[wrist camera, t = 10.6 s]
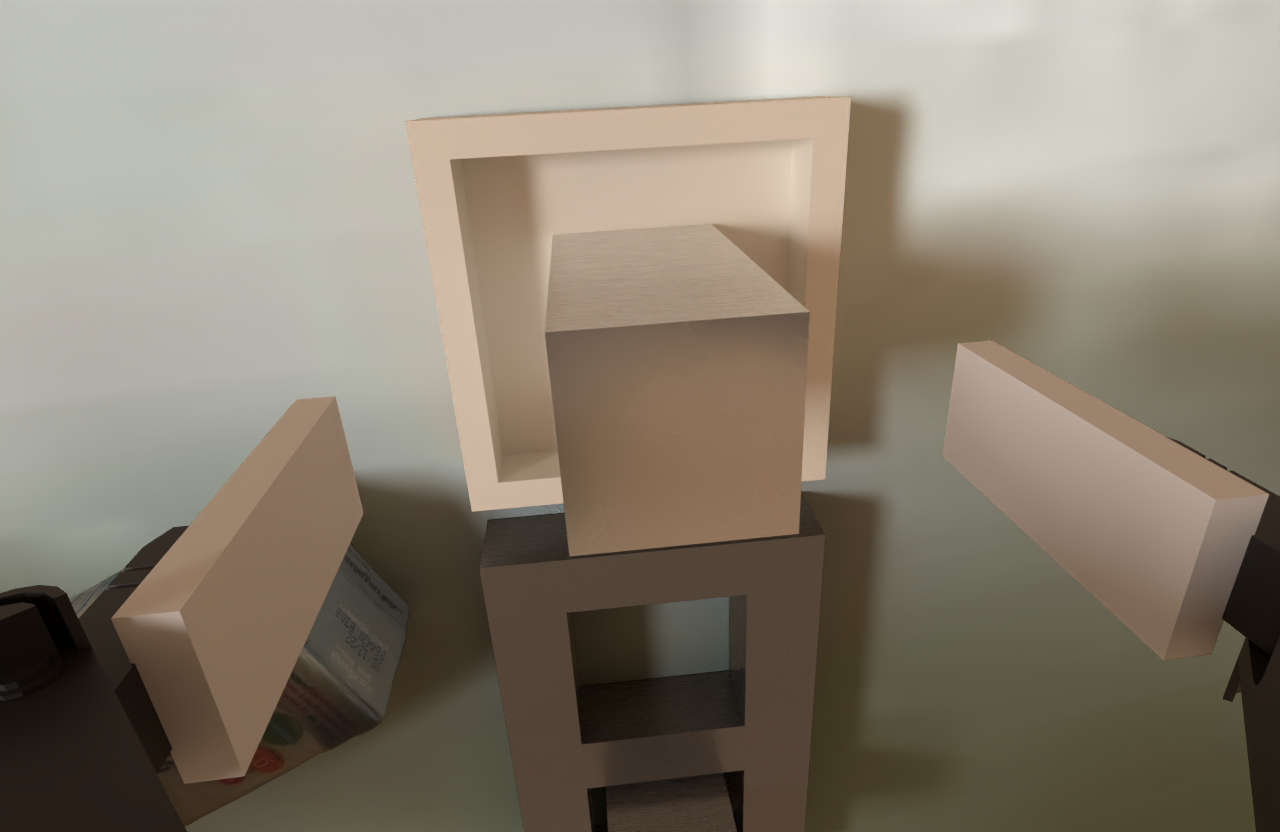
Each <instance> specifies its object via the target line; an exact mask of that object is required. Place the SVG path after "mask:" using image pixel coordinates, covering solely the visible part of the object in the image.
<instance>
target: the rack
mask: <svg viewBox="0 0 1280 832" xmlns="http://www.w3.org/2000/svg"><path fill="white" fill-rule="evenodd" d="M824 549H825V533H824V531H823V530H822V528H821V526H820V525H819V523H818V521H817V520H816V518H815V516H814V514H813V513H812V511H811V509H810V508H809V506H808V504H807V503H806V501H805V499H804V498H803V496H802V494H801V501H800V521H799V534H792V535H782V536H771V537H761V538H751V539H741V540H731V541H721V542H711V543H701V544H690V545H680V546H670V547H660V548H650V549H640V550H630V551H620V552H609V553H599V554H589V555H579V556H569V547H568V538H567V529H566V520H565V513H561V514H550V515H540V516H529V517H518V518H507V519H496V520H488V522H487V527H486V533H485V538H484V544H483V550H482V555H481V561H480V566H479V571H480V576H481V582H482V588H483V594H484V599H485V605H486V611H487V617H488V623H489V628H490V634H491V640H492V646H493V652H494V657H495V663H496V669H497V675H498V681H499V686H500V692H501V698H502V704H503V709H504V715H505V721H506V727H507V733H508V738H509V744H510V750H511V756H512V762H513V767H514V773H515V779H516V785H517V790H518V796H519V802H520V808H521V814H522V819H523V825H524V831H525V832H608V826H601V827H596V826H595V817H594V808H593V799H592V790H591V788H597V787H605V786H614V785H622V784H631V783H639V782H648V781H656V780H664V779H673V778H681V777H690V776H698V775H707V774H715V773H724V772H729V799H730V804H731V808H732V812H733V817H734V821H735V825H736V830H737V832H804V831H805V817H806V803H807V789H808V775H809V761H810V746H811V732H812V718H813V704H814V690H815V676H816V662H817V648H818V633H819V619H820V605H821V591H822V577H823V563H824ZM727 596H730V601H729V671H722V672H712V673H703V674H694V675H685V676H676V677H666V678H657V679H648V680H639V681H630V682H620V683H611V684H602V685H593V686H584V687H580V682H579V672H578V663H577V654H576V645H575V636H574V627H573V618H572V612H580V611H590V610H599V609H609V608H619V607H629V606H639V605H649V604H658V603H668V602H678V601H688V600H698V599H707V598H717V597H727Z"/></svg>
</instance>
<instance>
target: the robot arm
mask: <svg viewBox="0 0 1280 832" xmlns="http://www.w3.org/2000/svg"><path fill="white" fill-rule="evenodd" d="M942 457H943V458H944V459H946V460H947V461H948V462H949V463H950V464H951V465H952V466H953V467H954V468H955V469H956V470H957V471H959V472H960V473H961V474H962V475H963V476H964V477H965V478H966V479H967V480H968V481H969V482H970V483H972V484H973V485H974V486H975V487H976V488H977V489H978V490H979V491H980V492H981V493H982V494H984V495H985V496H986V497H987V498H988V499H989V500H990V501H991V502H992V503H993V504H994V505H995V506H997V507H998V508H999V509H1000V510H1001V511H1002V512H1003V513H1004V514H1005V515H1006V516H1007V517H1008V518H1010V519H1011V520H1012V521H1013V522H1014V523H1015V524H1016V525H1017V526H1018V527H1019V528H1020V529H1021V530H1023V531H1024V532H1025V533H1026V534H1027V535H1028V536H1029V537H1030V538H1031V539H1032V540H1033V541H1034V542H1036V543H1037V544H1038V545H1039V546H1040V547H1041V548H1042V549H1043V550H1044V551H1045V552H1046V553H1048V554H1049V555H1050V556H1051V557H1052V558H1053V559H1054V560H1055V561H1056V562H1057V563H1058V564H1059V565H1061V566H1062V567H1063V568H1064V569H1065V570H1066V571H1067V572H1068V573H1069V574H1070V575H1071V576H1072V577H1074V578H1075V579H1076V580H1077V581H1078V582H1079V583H1080V584H1081V585H1082V586H1083V587H1084V588H1085V589H1087V590H1088V591H1089V592H1090V593H1091V594H1092V595H1093V596H1094V597H1095V598H1096V599H1097V600H1098V601H1100V602H1101V603H1102V604H1103V605H1104V606H1105V607H1106V608H1107V609H1108V610H1109V611H1110V612H1112V613H1113V614H1114V615H1115V616H1116V617H1117V618H1118V619H1119V620H1120V621H1121V622H1122V623H1123V624H1125V625H1126V626H1127V627H1128V628H1129V629H1130V630H1131V631H1132V632H1133V633H1134V634H1135V635H1136V636H1138V637H1139V638H1140V639H1141V640H1142V641H1143V642H1144V643H1145V644H1146V645H1147V646H1148V647H1149V648H1151V649H1152V650H1153V651H1154V652H1155V653H1156V654H1157V655H1158V656H1159V657H1160V658H1161V659H1162V660H1170V659H1178V658H1186V657H1194V656H1202V655H1210V654H1212V651H1213V648H1214V646H1215V643H1216V640H1217V637H1218V635H1219V632H1220V629H1221V626H1222V624H1223V621H1224V620H1225V621H1226V622H1227V623H1229V624H1230V625H1231V626H1232V627H1234V628H1235V629H1236V630H1238V631H1239V632H1240V633H1241V634H1243V635H1244V636H1245V637H1246V638H1245V641H1244V644H1243V646H1242V649H1241V651H1240V654H1239V657H1238V659H1237V662H1236V664H1235V667H1234V670H1233V672H1232V675H1231V677H1230V680H1229V683H1228V685H1227V688H1226V691H1225V693H1224V696H1223V699H1224V700H1228V701H1231V702H1232V701H1233V699H1234V697H1235V694H1236V693H1239V692H1241V694H1242V703H1243V713H1244V722H1245V732H1246V741H1247V750H1248V760H1249V769H1250V779H1251V788H1252V797H1253V807H1254V816H1255V826H1256V832H1280V496H1278V495H1276V494H1274V493H1272V492H1270V491H1269V490H1267V489H1265V488H1263V487H1261V486H1260V485H1258V484H1256V483H1254V482H1252V481H1250V480H1249V479H1247V478H1245V477H1243V476H1241V475H1239V474H1238V473H1236V472H1234V471H1227V467H1225V466H1223V465H1221V464H1219V463H1218V462H1216V461H1214V460H1212V459H1206V458H1205V455H1203V454H1201V453H1199V452H1198V451H1196V450H1194V449H1192V448H1190V447H1189V446H1187V445H1185V444H1183V443H1181V442H1179V441H1177V440H1174V439H1171V438H1168V437H1165V436H1163V435H1161V434H1160V433H1158V432H1156V431H1154V430H1152V429H1151V428H1149V427H1147V426H1145V425H1143V424H1142V423H1140V422H1138V421H1136V420H1134V419H1133V418H1131V417H1129V416H1127V415H1125V414H1123V413H1122V412H1120V411H1118V410H1116V409H1114V408H1113V407H1111V406H1109V405H1107V404H1105V403H1104V402H1102V401H1100V400H1098V399H1096V398H1095V397H1093V396H1091V395H1089V394H1087V393H1086V392H1084V391H1082V390H1080V389H1078V388H1077V387H1075V386H1073V385H1071V384H1069V383H1068V382H1066V381H1064V380H1062V379H1060V378H1059V377H1057V376H1055V375H1053V374H1051V373H1049V372H1048V371H1046V370H1044V369H1042V368H1040V367H1039V366H1037V365H1035V364H1033V363H1031V362H1030V361H1028V360H1026V359H1024V358H1022V357H1021V356H1019V355H1017V354H1015V353H1013V352H1012V351H1010V350H1008V349H1006V348H1004V347H1003V346H1001V345H999V344H997V343H995V342H994V341H992V340H991V341H979V342H968V343H958V346H957V354H956V361H955V368H954V375H953V382H952V389H951V396H950V403H949V410H948V417H947V424H946V432H945V439H944V446H943V453H942ZM363 514H364V513H363V508H362V504H361V500H360V496H359V492H358V488H357V484H356V480H355V476H354V471H353V467H352V463H351V459H350V455H349V451H348V447H347V443H346V438H345V434H344V430H343V426H342V422H341V418H340V414H339V410H338V406H337V401H336V397H323V398H311V399H300V400H295V402H294V403H293V404H292V405H291V406H290V408H289V409H288V410H287V411H286V412H285V413H284V415H283V416H282V417H281V418H280V419H279V421H278V422H277V423H276V424H275V425H274V426H273V428H272V429H271V430H270V431H269V432H268V434H267V435H266V436H265V437H264V438H263V439H262V441H261V442H260V443H259V444H258V445H257V447H256V448H255V449H254V450H253V451H252V452H251V454H250V455H249V456H248V457H247V458H246V460H245V461H244V462H243V463H242V464H241V465H240V467H239V468H238V469H237V470H236V471H235V473H234V474H233V475H232V476H231V477H230V478H229V480H228V481H227V482H226V483H225V484H224V486H223V487H222V488H221V489H220V490H219V491H218V493H217V494H216V495H215V496H214V497H213V499H212V500H211V501H210V502H209V503H208V504H207V506H206V507H205V508H204V509H203V510H202V512H201V513H200V514H199V515H198V516H197V517H196V519H195V520H194V521H193V522H192V523H191V524H190V526H182V527H173V528H172V529H170V530H169V531H167V532H166V533H164V534H162V535H161V536H159V537H158V538H156V539H155V540H153V541H152V542H150V543H149V544H147V545H146V546H144V547H143V548H142V549H141V550H140V551H139V552H138V553H137V555H136V556H135V557H134V558H133V559H132V560H131V561H130V562H129V563H128V564H127V566H126V567H125V568H124V572H120V573H119V574H118V575H117V577H116V578H115V579H114V580H113V581H112V582H111V583H110V584H109V585H108V587H109V588H108V590H104V591H103V592H102V593H101V594H100V595H99V596H98V597H97V599H96V600H95V601H94V602H93V603H92V604H91V605H90V606H89V607H88V608H87V610H86V611H85V612H84V613H83V614H82V615H81V616H80V617H79V618H78V617H77V615H76V612H75V610H74V608H73V606H72V604H71V602H70V600H69V598H68V595H67V593H65V592H64V591H63V590H61V589H60V588H58V587H56V586H43V585H37V586H30V587H24V588H18V589H13V590H10V591H7V592H3V593H0V832H187V831H186V829H185V827H184V825H183V823H182V821H181V819H180V817H179V815H178V813H177V812H176V810H175V808H174V806H173V804H172V802H171V800H170V798H169V796H168V794H167V792H166V790H165V788H164V786H163V784H162V782H161V781H160V779H159V777H158V775H157V774H158V772H159V771H160V769H161V767H162V765H163V764H164V762H165V760H166V759H167V757H168V755H169V753H171V755H172V757H173V759H174V762H175V764H176V766H177V768H178V771H179V773H180V775H181V777H182V780H183V782H184V784H187V783H195V782H203V781H211V780H219V779H227V778H235V777H243V776H245V774H246V772H247V769H248V767H249V765H250V763H251V761H252V758H253V756H254V754H255V752H256V750H257V747H258V745H259V743H260V741H261V739H262V736H263V734H264V732H265V730H266V728H267V725H268V723H269V721H270V719H271V717H272V714H273V712H274V710H275V708H276V706H277V703H278V701H279V699H280V697H281V694H282V692H283V690H284V688H285V686H286V683H287V681H288V679H289V677H290V675H291V672H292V670H293V668H294V666H295V664H296V661H297V659H298V657H299V655H300V653H301V650H302V648H303V646H304V644H305V642H306V639H307V637H308V635H309V633H310V631H311V628H312V626H313V624H314V622H315V620H316V617H317V615H318V613H319V611H320V608H321V606H322V604H323V602H324V600H325V597H326V595H327V593H328V591H329V589H330V586H331V584H332V582H333V580H334V578H335V575H336V573H337V571H338V569H339V567H340V564H341V562H342V560H343V558H344V556H345V553H346V551H347V549H348V547H349V545H350V542H351V540H352V538H353V536H354V534H355V531H356V529H357V527H358V525H359V522H360V520H361V518H362V516H363Z"/></svg>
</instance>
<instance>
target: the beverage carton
mask: <svg viewBox="0 0 1280 832" xmlns="http://www.w3.org/2000/svg"><path fill="white" fill-rule="evenodd" d="M120 572H124V569H123V570H121V571H120ZM120 572H118V573H116V574H114V575H113V576H111V577H109V578H107V579H106V580H104V581H102V582H100V583H99V584H97V585H95V586H94V587H92V588H90V589H88V590H87V591H85V592H83V593H81V594H79V595H77V596H75V597H74V598H72V599H70V602H71V604H72V606H73V608H74V610H75V612H76V615H77V617H78V618H79V617H80V616H81V615H82V614H83V613H84V612H85V611H86V610H87V608H88V607H89V606H90V605H91V604H92V603H93V602H94V601H95V600H96V599H97V597H98V596H99V595H100V594H101V593H102V592H103V591H104V590H108V588H109V587H108V585H109V584H110V583H111V582H112V581H113V580H114V579H115V578H116V577H117V575H118V574H119V573H120ZM409 613H410V608H409V606H408V605H407V603H406V602H405V601H404V600H403V599H402V598H401V597H399V596H398V595H397V594H396V593H395V592H394V591H393V590H392V589H391V588H390V587H389V585H388V584H387V583H386V582H385V581H384V580H383V579H382V578H381V577H380V576H379V575H378V574H377V573H376V572H375V571H374V570H373V569H372V568H371V567H370V566H369V565H368V564H367V563H366V561H365V560H364V559H363V558H362V557H361V556H360V554H359V553H358V552H357V551H356V550H355V549H354V548H353V547H352V546H351V545H349V547H348V549H347V551H346V553H345V556H344V558H343V560H342V562H341V564H340V567H339V569H338V571H337V573H336V575H335V578H334V580H333V582H332V584H331V586H330V589H329V591H328V593H327V595H326V597H325V600H324V602H323V604H322V606H321V608H320V611H319V613H318V615H317V617H316V620H315V622H314V624H313V626H312V628H311V631H310V633H309V635H308V637H307V639H306V642H305V644H304V646H303V648H302V650H301V653H300V655H299V657H298V659H297V661H296V664H295V666H294V668H293V670H292V672H291V675H290V677H289V679H288V681H287V683H286V686H285V688H284V690H283V692H282V694H281V697H280V699H279V701H278V703H277V706H276V708H275V710H274V712H273V714H272V717H271V719H270V721H269V723H268V725H267V728H266V730H265V732H264V734H263V736H262V739H261V741H260V743H259V745H258V747H257V750H256V752H255V754H254V756H253V758H252V761H251V763H250V765H249V767H248V769H247V772H246V774H245V776H243V777H235V778H227V779H219V780H211V781H203V782H195V783H187V784H184V782H183V780H182V777H181V775H180V773H179V771H178V768H177V766H176V764H175V762H174V759H173V757H172V755H171V753H169V755H168V757H167V759H166V760H165V762H164V764H163V765H162V767H161V769H160V771H159V772H158V774H157V775H158V777H159V779H160V781H161V782H162V784H163V786H164V788H165V790H166V792H167V794H168V796H169V798H170V800H171V802H172V804H173V806H174V808H175V810H176V812H177V813H178V815H179V817H180V819H181V821H182V823H183V825H184V827H185V826H187V825H189V824H191V823H193V822H194V821H196V820H198V819H199V818H201V817H203V816H205V815H207V814H209V813H211V812H213V811H215V810H217V809H219V808H221V807H222V806H224V805H226V804H228V803H230V802H232V801H234V800H236V799H238V798H240V797H242V796H244V795H246V794H247V793H249V792H251V791H253V790H255V789H257V788H258V787H260V786H262V785H264V784H266V783H268V782H269V781H271V780H273V779H275V778H277V777H279V776H281V775H282V774H284V773H286V772H288V771H290V770H292V769H293V768H295V767H297V766H299V765H301V764H303V763H304V762H306V761H307V760H309V759H310V758H312V757H313V756H315V755H317V754H319V753H322V752H325V751H328V750H331V749H333V748H335V747H338V746H339V745H341V744H342V743H344V742H346V741H347V740H349V739H351V738H352V737H354V736H357V735H360V734H362V733H365V732H368V731H369V730H371V729H373V728H374V727H376V726H377V725H379V724H380V723H381V722H382V721H383V719H384V716H385V712H386V708H387V705H388V701H389V696H390V692H391V687H392V683H393V680H394V677H395V674H396V671H397V669H398V666H399V663H400V660H401V655H402V649H403V647H404V645H405V642H406V627H407V622H408V617H409Z"/></svg>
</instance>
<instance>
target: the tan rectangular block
mask: <svg viewBox="0 0 1280 832" xmlns="http://www.w3.org/2000/svg"><path fill="white" fill-rule="evenodd" d="M809 317H810V312H809V311H808V310H807V309H806V308H805V307H804V306H803V305H802V304H801V303H799V302H798V301H797V300H796V299H795V298H794V297H793V296H792V295H790V294H789V293H788V292H787V291H786V290H785V289H784V288H783V287H781V286H780V285H779V284H778V283H777V282H776V281H775V280H774V279H773V278H771V277H770V276H769V275H768V274H767V273H766V272H765V271H764V270H762V269H761V268H760V267H759V266H758V265H757V264H756V263H755V262H754V261H752V260H751V259H750V258H749V257H748V256H747V255H746V254H745V253H743V252H742V251H741V250H740V249H739V248H738V247H737V246H736V245H735V244H733V243H732V242H731V241H730V240H729V239H728V238H727V237H726V236H724V235H723V234H722V233H721V232H720V231H719V230H718V229H717V228H715V227H714V226H713V225H712V224H702V225H688V226H673V227H659V228H644V229H630V230H616V231H601V232H587V233H572V234H558V235H553V239H552V250H551V262H550V274H549V286H548V298H547V310H546V322H545V340H546V349H547V358H548V367H549V376H550V385H551V394H552V403H553V412H554V421H555V430H556V439H557V448H558V457H559V466H560V475H561V484H562V493H563V502H564V511H565V520H566V529H567V538H568V547H569V556H579V555H589V554H599V553H609V552H620V551H630V550H640V549H650V548H660V547H670V546H680V545H690V544H701V543H711V542H721V541H731V540H741V539H751V538H761V537H771V536H782V535H792V534H799V521H800V501H801V480H802V460H803V439H804V419H805V399H806V378H807V358H808V338H809Z"/></svg>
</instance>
